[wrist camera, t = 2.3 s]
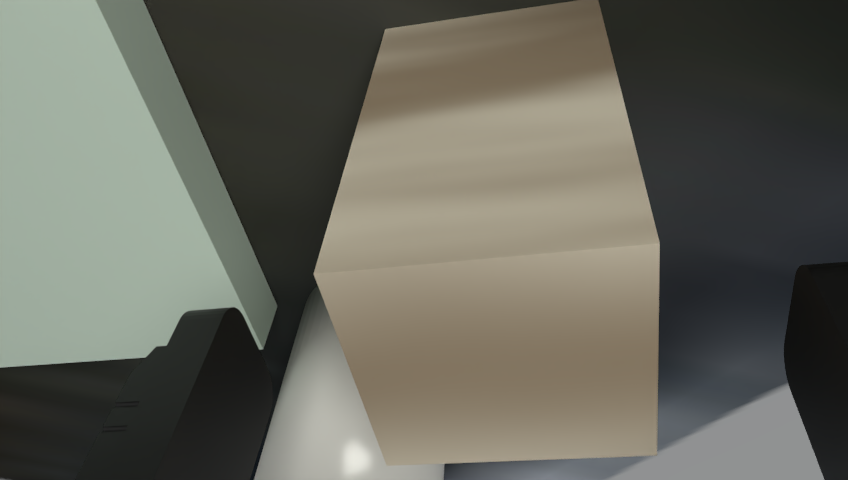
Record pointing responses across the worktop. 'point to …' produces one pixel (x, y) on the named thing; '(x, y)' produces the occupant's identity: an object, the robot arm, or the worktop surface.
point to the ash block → (497, 246)
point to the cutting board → (107, 192)
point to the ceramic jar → (325, 415)
